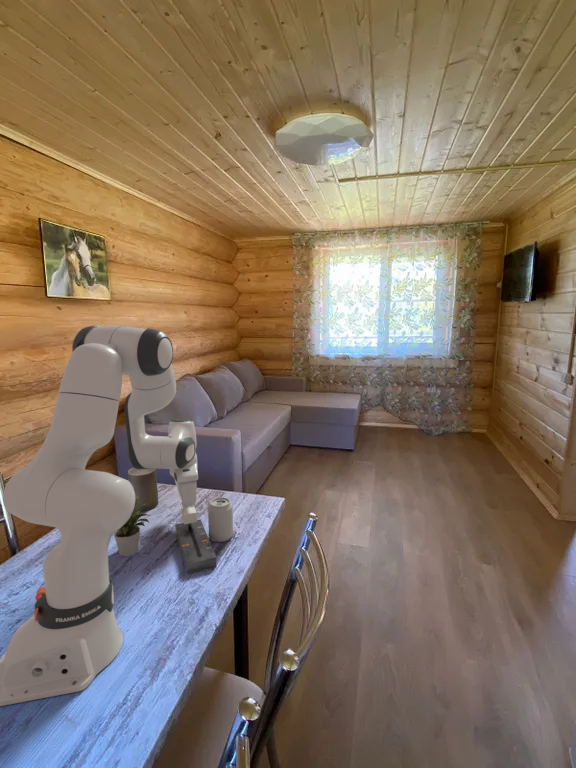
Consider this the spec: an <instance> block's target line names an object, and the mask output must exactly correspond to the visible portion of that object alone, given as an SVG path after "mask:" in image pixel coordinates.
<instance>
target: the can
mask: <svg viewBox="0 0 576 768" xmlns="http://www.w3.org/2000/svg"><path fill="white" fill-rule="evenodd" d="M233 505H234V504H233V503H232V502H231V499H230V498H227V497H220V496H219V497H215V498H212V499H211V500H210V501H209V505H208V506H207V517H208V519H207V522H208V538H209V540H211V541H213V542H215V543H224V542H227V541H228V540H230V539H231V538H232V537H233V535H234V520H233V519H234V517H233V514H234V513H233V512H234V510H233V508H234V507H233Z"/></svg>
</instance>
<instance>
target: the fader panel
mask: <svg viewBox="0 0 576 768" xmlns="http://www.w3.org/2000/svg"><path fill="white" fill-rule="evenodd" d="M191 525H192V526H189V527H188V524H185V525H184V523H183V522H181V523H177V524H174V527H175V536H176V540H177V543H178V544H177V545H178V547H179V550H180V551H179V552H180V553H181V554H180V555H181V557H182V561H183V566H184V568H185V573H186V575H191V574H196V573H199V572H202V571H206V570H211V569H215V568H217V556H216V553H215V550H214V548H213V546H212V544H211V542H210V538H209V535H208V534H207V532H206V529H205V526H204V524H203V522H202V519H201V518H200V519H197V522H194V523H191Z"/></svg>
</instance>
